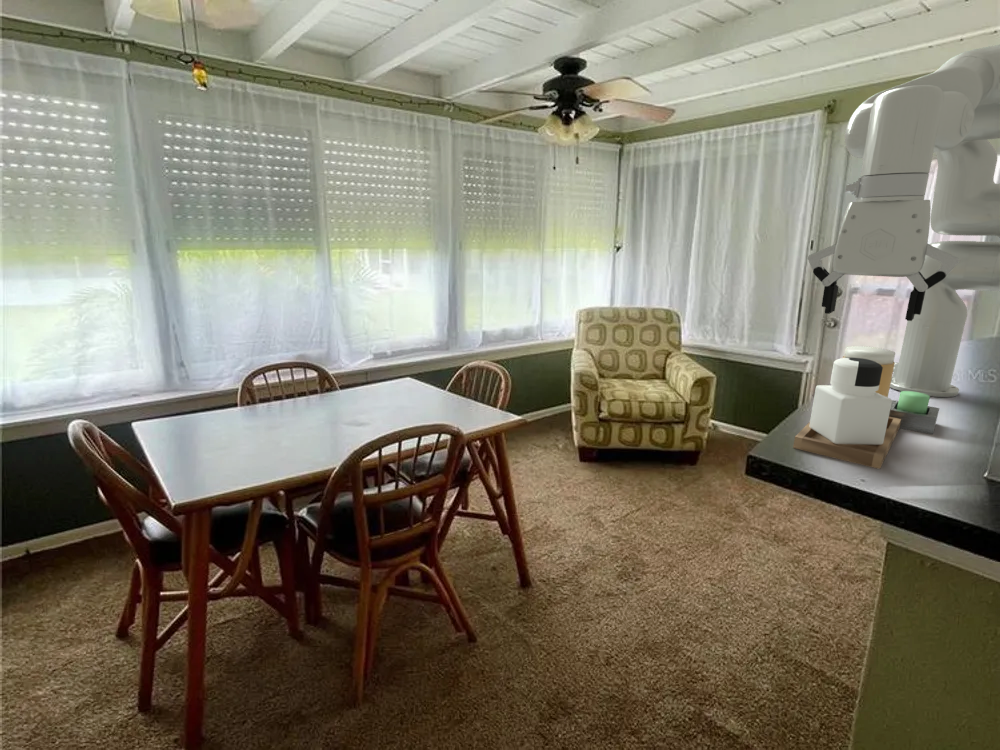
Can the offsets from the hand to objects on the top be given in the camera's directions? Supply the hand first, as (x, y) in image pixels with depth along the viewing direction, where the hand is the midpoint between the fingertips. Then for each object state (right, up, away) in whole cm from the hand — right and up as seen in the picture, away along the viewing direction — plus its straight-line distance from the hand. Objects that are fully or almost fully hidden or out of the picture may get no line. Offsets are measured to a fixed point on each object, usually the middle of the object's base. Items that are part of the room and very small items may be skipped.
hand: (867, 315), depth 75 cm
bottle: (+7, -18, +12) cm, 23 cm away
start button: (+18, -16, +15) cm, 28 cm away
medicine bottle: (0, -18, +5) cm, 19 cm away
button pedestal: (+18, -18, +15) cm, 30 cm away
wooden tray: (+3, -20, +9) cm, 22 cm away
